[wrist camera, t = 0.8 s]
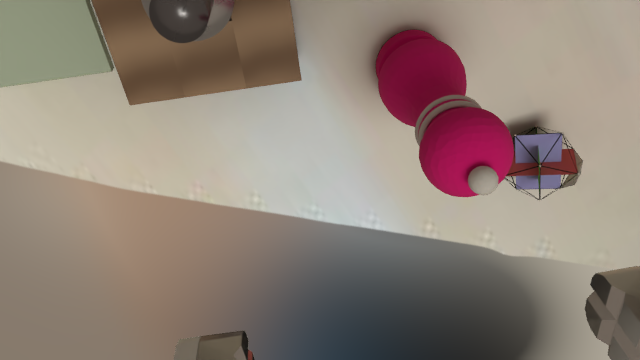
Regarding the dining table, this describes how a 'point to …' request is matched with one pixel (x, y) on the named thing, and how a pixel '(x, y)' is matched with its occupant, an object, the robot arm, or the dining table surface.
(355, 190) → the dining table surface
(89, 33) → the mat
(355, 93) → the dining table surface
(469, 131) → the pepper mill
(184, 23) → the flanged metal shaft
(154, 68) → the block
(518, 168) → the geometric puzzle
